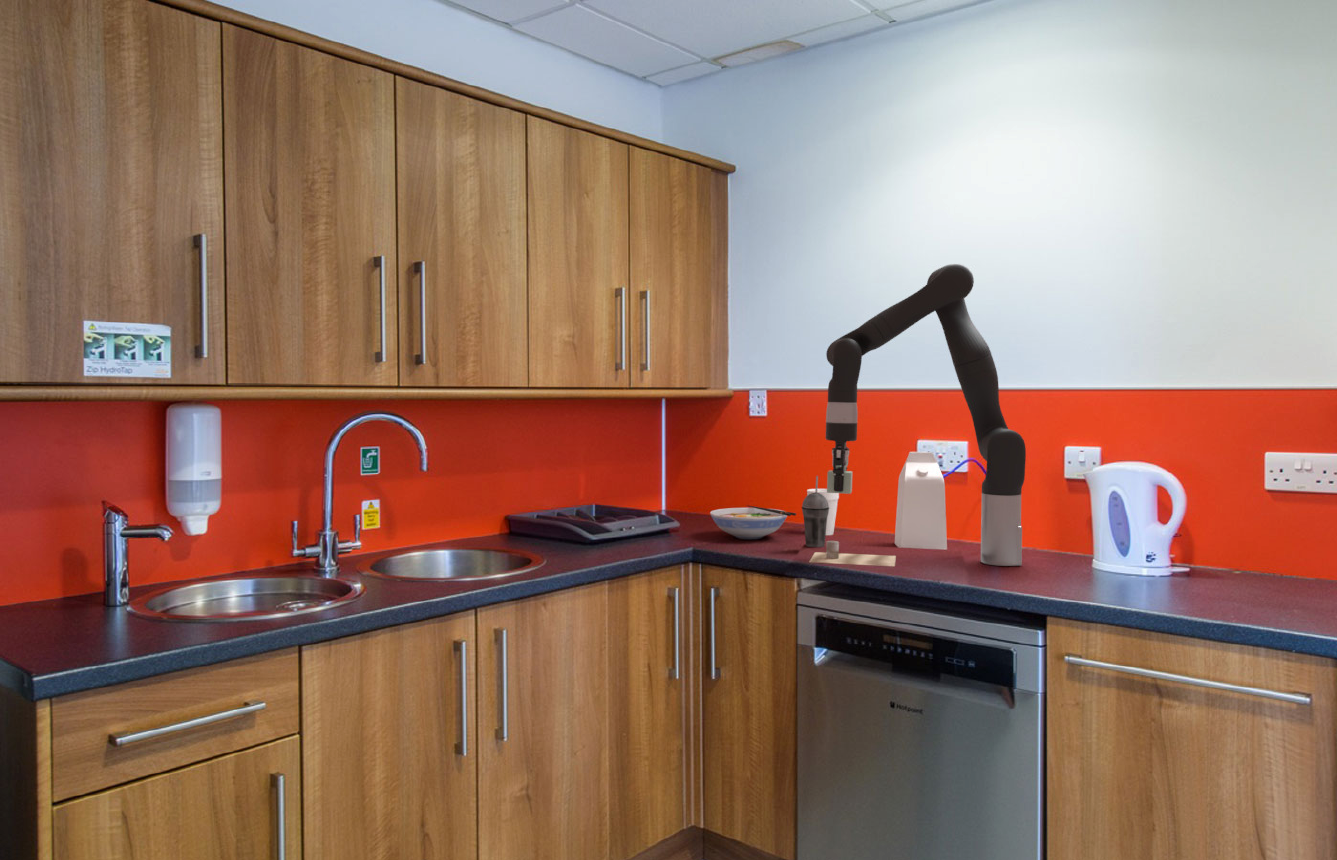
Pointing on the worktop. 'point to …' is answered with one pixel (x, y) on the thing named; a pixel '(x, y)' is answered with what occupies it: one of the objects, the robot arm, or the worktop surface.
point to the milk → (921, 504)
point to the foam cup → (832, 502)
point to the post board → (850, 557)
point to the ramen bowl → (749, 521)
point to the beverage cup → (815, 518)
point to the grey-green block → (846, 486)
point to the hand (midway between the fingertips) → (839, 489)
